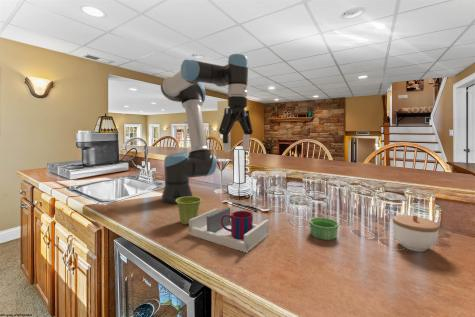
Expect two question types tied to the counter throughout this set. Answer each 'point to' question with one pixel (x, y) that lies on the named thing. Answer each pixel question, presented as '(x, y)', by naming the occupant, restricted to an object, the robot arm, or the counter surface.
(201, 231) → the tray
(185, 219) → the plant pot
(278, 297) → the counter surface
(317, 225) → the ramekin
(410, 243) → the lidded jar
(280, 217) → the counter surface
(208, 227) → the panel
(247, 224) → the mug
